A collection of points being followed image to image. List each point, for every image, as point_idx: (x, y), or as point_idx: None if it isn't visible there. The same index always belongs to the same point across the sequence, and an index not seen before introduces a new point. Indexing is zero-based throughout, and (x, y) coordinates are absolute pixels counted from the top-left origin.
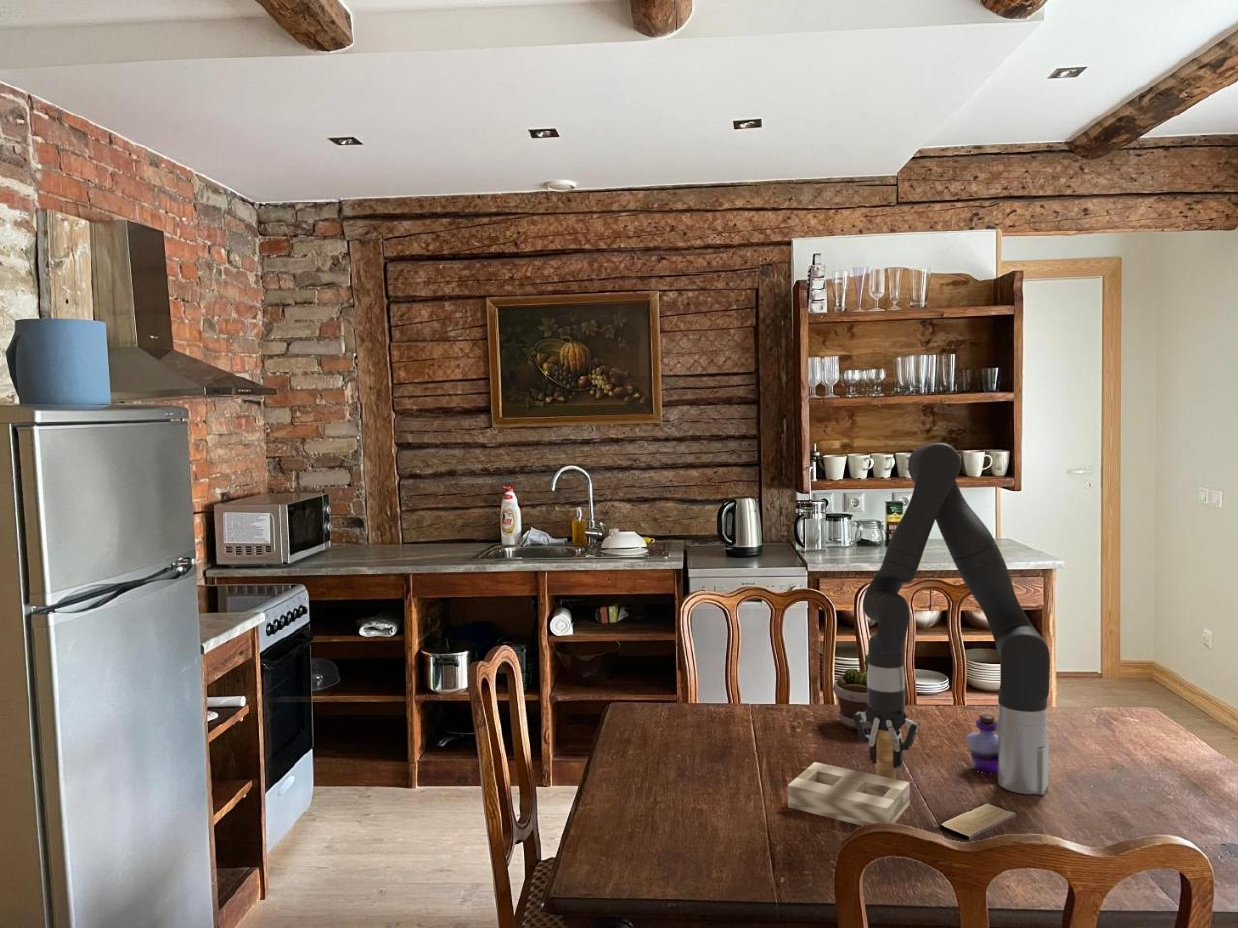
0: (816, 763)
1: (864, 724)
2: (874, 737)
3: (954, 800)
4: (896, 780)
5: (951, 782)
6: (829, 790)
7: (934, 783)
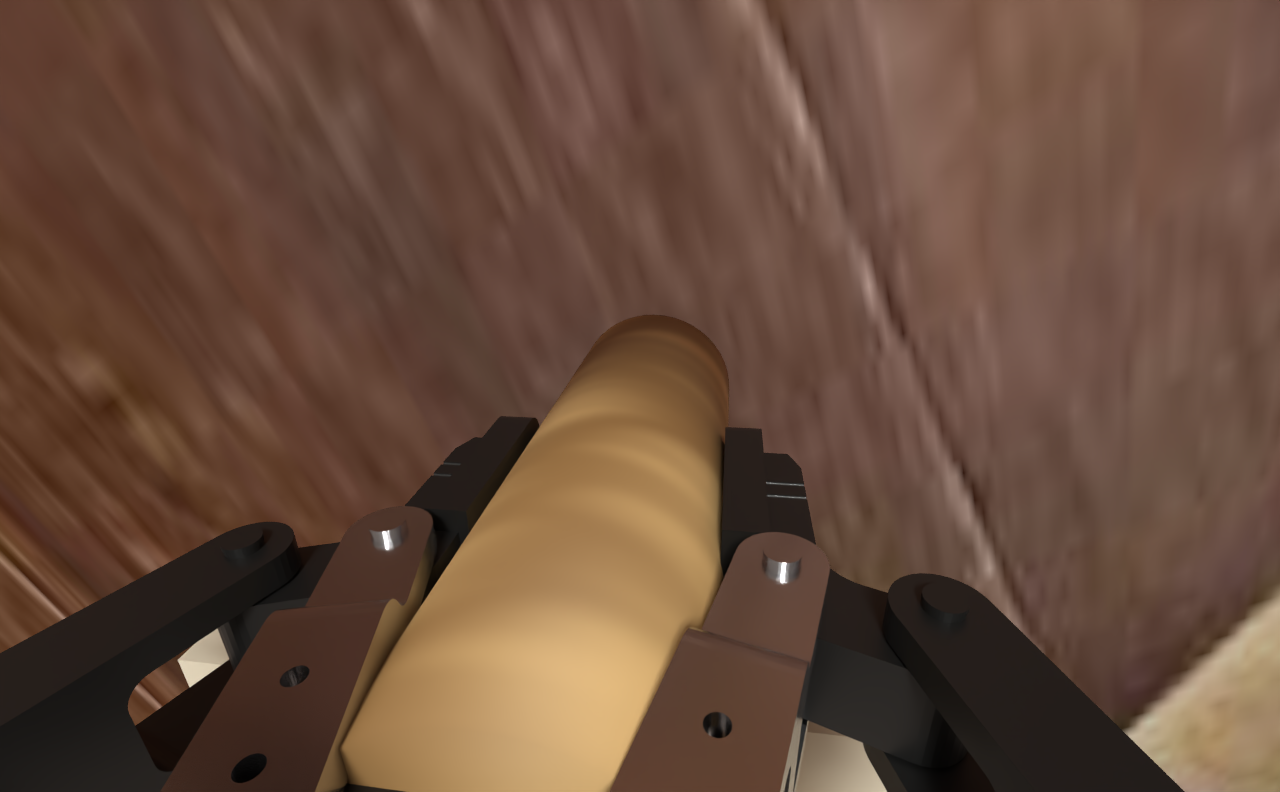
0: (204, 675)
1: (49, 753)
2: None
3: (1226, 426)
4: (819, 746)
5: (1229, 18)
6: None
7: (1039, 153)
